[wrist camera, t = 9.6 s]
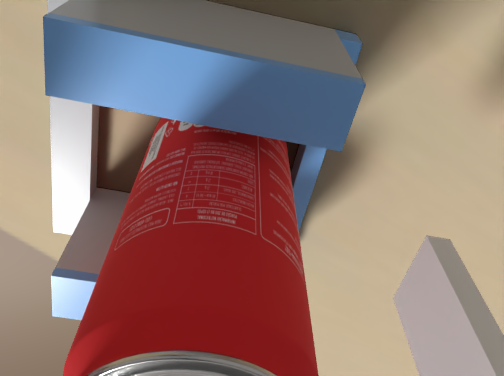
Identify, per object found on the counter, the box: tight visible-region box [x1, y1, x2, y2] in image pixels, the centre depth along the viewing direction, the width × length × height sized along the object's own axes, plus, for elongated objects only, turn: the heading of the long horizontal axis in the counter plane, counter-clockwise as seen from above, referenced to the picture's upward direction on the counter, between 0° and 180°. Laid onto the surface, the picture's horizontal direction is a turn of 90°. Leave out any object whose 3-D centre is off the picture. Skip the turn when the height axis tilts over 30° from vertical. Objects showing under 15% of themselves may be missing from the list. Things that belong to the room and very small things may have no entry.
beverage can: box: [63, 117, 318, 376], centre depth 14 cm, size 5×5×12 cm
